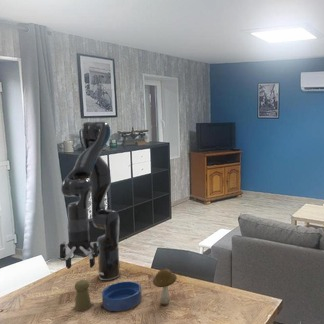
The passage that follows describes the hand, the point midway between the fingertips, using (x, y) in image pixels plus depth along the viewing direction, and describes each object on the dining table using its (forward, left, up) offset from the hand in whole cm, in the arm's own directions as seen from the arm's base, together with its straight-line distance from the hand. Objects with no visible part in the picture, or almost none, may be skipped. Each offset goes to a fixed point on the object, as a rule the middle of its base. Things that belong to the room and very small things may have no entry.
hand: (80, 267), depth 136 cm
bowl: (-2, +15, -17) cm, 23 cm away
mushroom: (+1, +33, -17) cm, 37 cm away
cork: (0, 0, -17) cm, 17 cm away
